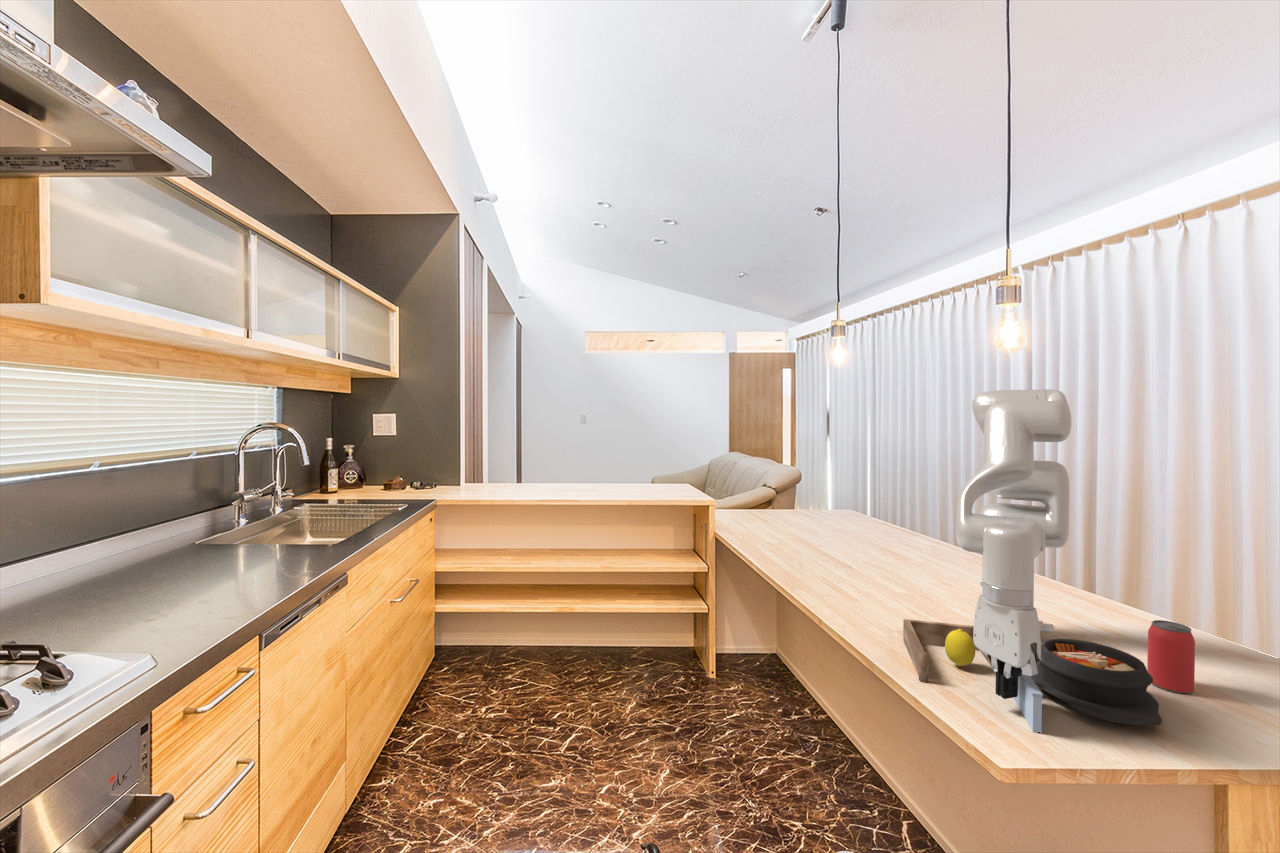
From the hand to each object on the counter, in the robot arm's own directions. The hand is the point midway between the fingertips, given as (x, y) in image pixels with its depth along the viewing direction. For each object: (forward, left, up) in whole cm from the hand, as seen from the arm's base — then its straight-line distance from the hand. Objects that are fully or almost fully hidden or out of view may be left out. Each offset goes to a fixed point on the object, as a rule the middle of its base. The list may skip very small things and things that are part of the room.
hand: (1006, 695), depth 97 cm
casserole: (-16, -10, -3) cm, 19 cm away
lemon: (+4, -17, -3) cm, 17 cm away
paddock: (+5, -18, -3) cm, 18 cm away
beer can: (-33, -20, -3) cm, 39 cm away
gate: (-3, +1, -3) cm, 4 cm away
